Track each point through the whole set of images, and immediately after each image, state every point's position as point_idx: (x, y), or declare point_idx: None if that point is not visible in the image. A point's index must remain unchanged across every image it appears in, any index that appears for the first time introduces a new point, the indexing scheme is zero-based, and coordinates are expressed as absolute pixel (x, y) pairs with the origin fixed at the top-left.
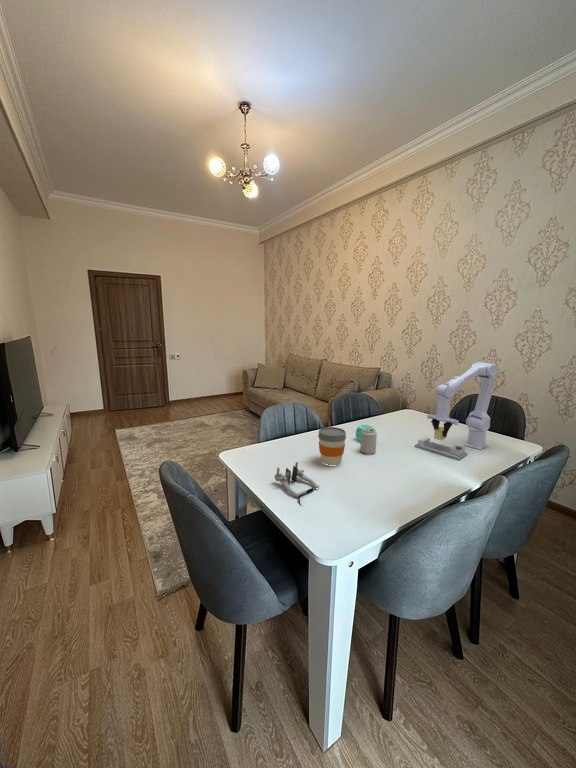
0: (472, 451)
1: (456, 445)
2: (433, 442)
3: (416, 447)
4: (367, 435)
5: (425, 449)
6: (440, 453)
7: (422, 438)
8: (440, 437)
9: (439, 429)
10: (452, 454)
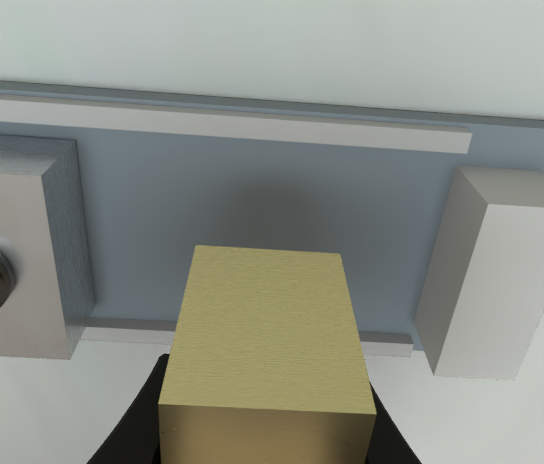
0: (18, 421)
1: (58, 347)
2: (378, 353)
3: (538, 120)
4: None
5: (408, 113)
6: (187, 100)
7: (530, 295)
8: (211, 281)
9: (265, 453)
10: (33, 142)
